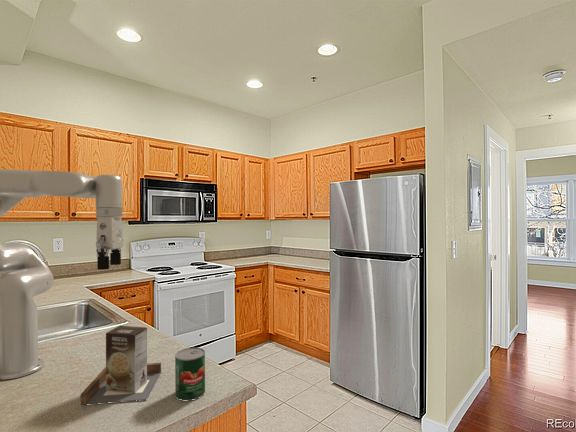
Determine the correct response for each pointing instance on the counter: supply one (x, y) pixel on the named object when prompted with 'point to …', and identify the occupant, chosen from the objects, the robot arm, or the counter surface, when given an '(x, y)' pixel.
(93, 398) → the corner mat
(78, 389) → the counter surface
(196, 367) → the canned tomato
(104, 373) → the corner walls
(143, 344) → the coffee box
